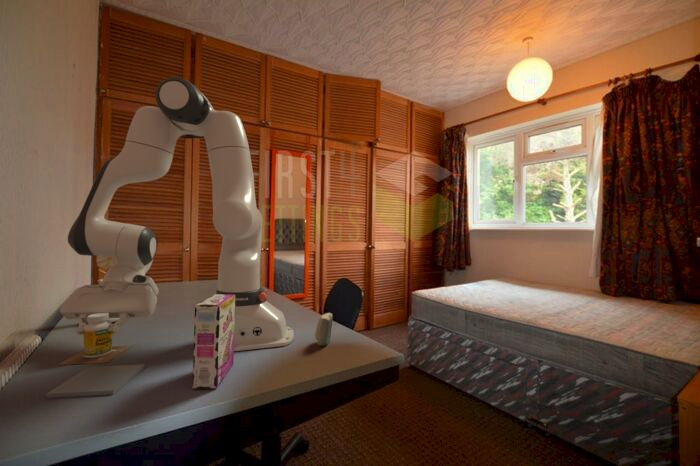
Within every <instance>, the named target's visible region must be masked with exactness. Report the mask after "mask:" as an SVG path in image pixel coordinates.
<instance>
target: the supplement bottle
mask: <svg viewBox="0 0 700 466" xmlns="http://www.w3.org/2000/svg"><path fill="white" fill-rule="evenodd" d="M108 319H109V313H96V314H91V315H89V316H88V317H87V321H88V323H86V326H85V327H84V334H83V351H84V357H86V358H97V357H101V356H105V355H107V354H109V353H110V352H111V351H112V346H113V333H109V332H108V328H109V326H110V324H113V322H110V321H107V320H108Z"/></svg>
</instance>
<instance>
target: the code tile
mask: <svg viewBox="0 0 700 466" xmlns="http://www.w3.org/2000/svg"><path fill="white" fill-rule="evenodd" d="M130 348H133V345H117V346H116V345H112V351H111V352H110V353H109V354H107V355H105V356H101V357H97V358H86V357H84V350H82V351H80V352H79V353H76V354H75V355H73V356H71V357H69V358H67V359H65V360H63V361H62V362H59V363H58V366H65V365H87V364H89V365H91V364H93V365H95V364H108V363H109V362H111V361H113V360H114V359H116V358H117V357H119V356H120V355H122V354H123V353H125V352H126V351H127V350H128V351H129V350H130Z"/></svg>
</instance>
